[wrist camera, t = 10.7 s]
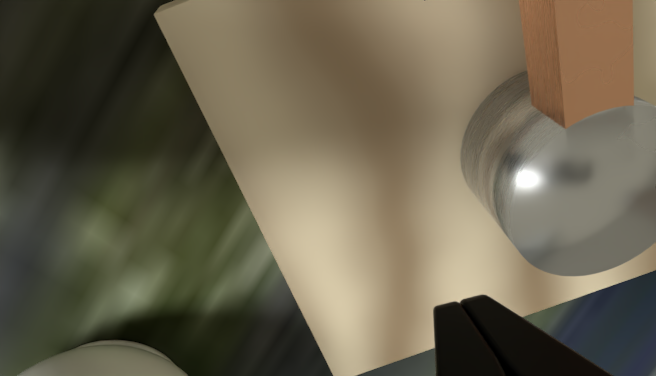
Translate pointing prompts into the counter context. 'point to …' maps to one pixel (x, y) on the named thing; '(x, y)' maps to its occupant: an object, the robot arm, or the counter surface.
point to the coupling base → (373, 155)
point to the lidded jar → (107, 361)
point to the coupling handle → (568, 142)
